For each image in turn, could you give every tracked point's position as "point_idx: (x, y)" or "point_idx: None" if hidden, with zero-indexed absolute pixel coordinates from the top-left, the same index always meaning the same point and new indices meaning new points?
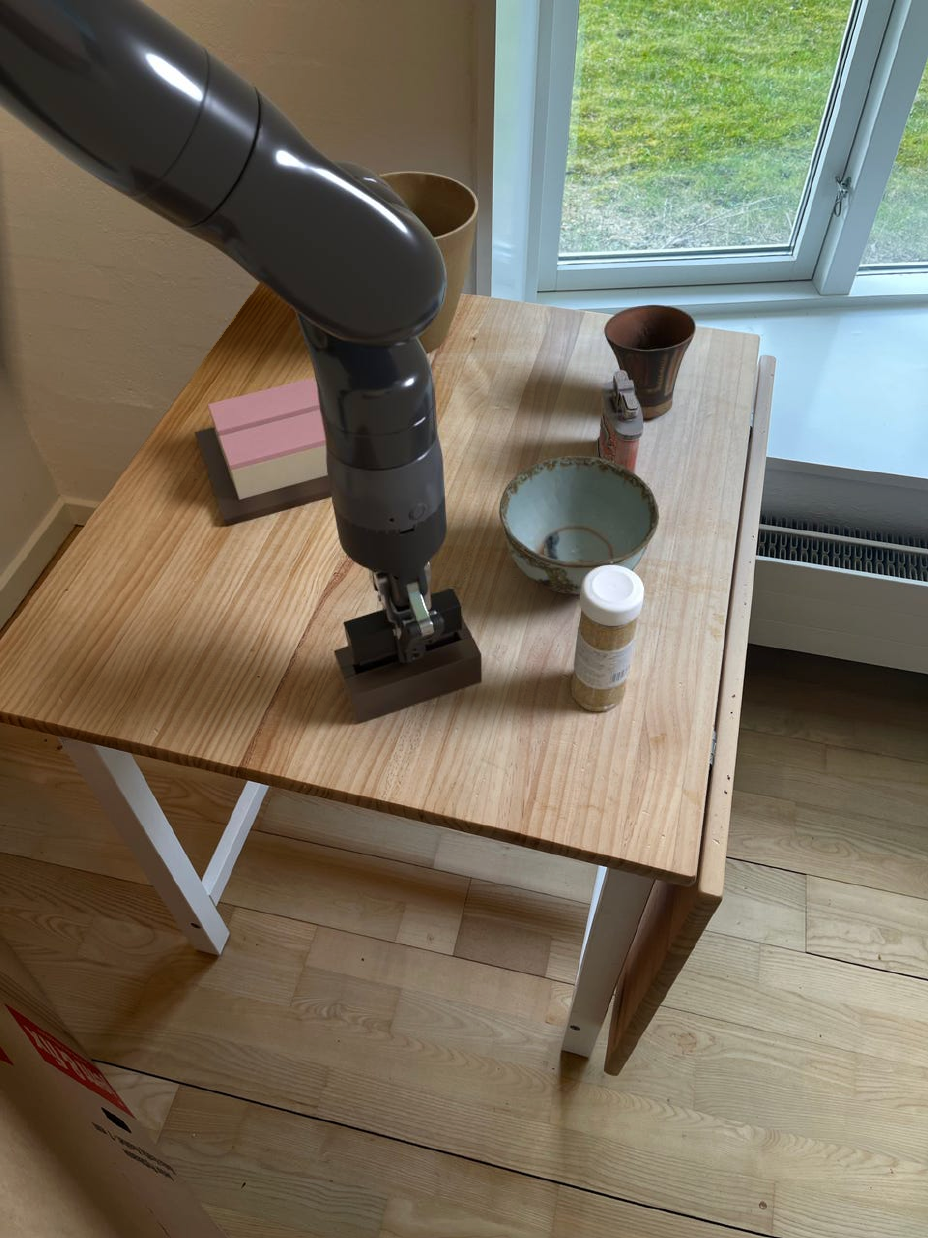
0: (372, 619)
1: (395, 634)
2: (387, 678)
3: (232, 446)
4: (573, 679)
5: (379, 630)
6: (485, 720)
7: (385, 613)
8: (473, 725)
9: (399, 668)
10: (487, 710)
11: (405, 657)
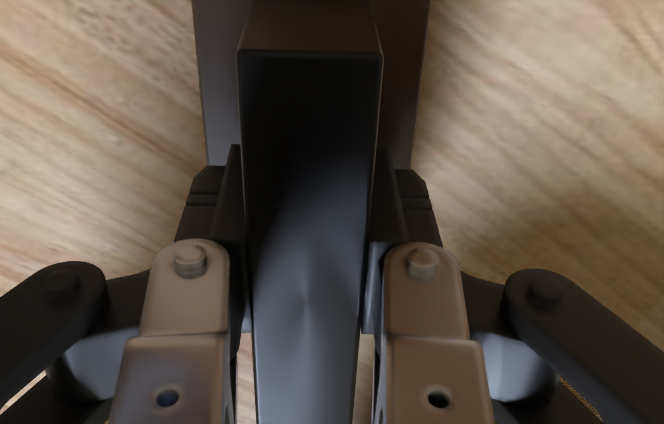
0: (328, 190)
1: (173, 260)
2: (224, 65)
3: None
4: None
5: (247, 197)
6: (126, 207)
7: (168, 350)
8: (119, 179)
9: None
10: (154, 220)
11: (210, 180)
